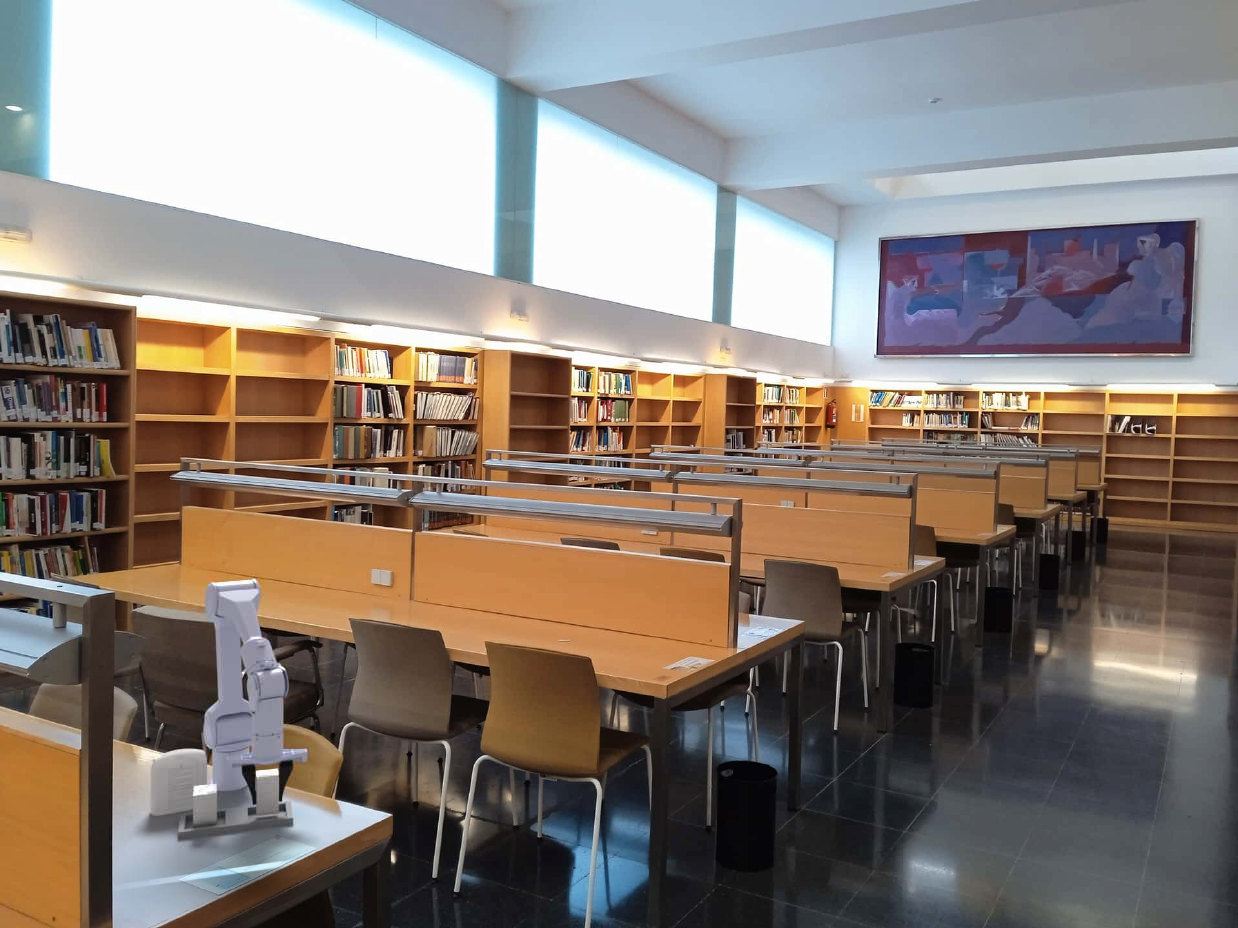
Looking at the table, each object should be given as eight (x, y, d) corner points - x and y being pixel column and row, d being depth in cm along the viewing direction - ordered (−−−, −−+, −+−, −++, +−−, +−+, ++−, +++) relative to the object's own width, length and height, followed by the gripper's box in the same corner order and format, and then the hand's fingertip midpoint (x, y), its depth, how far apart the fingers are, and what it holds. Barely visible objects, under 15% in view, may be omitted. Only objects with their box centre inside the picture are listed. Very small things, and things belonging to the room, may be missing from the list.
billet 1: (194, 822, 185) (194, 785, 184) (216, 819, 186) (216, 783, 186) (193, 832, 180) (193, 795, 180) (216, 829, 182) (216, 792, 181)
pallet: (180, 824, 186) (180, 813, 186) (290, 810, 193) (290, 800, 193) (177, 842, 177) (177, 832, 177) (293, 827, 185) (293, 817, 185)
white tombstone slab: (204, 803, 196) (204, 742, 196) (209, 810, 193) (209, 748, 192) (148, 813, 190) (148, 751, 190) (152, 821, 187) (152, 757, 186)
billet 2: (255, 806, 189) (256, 770, 189) (277, 803, 190) (277, 768, 190) (256, 815, 184) (256, 779, 184) (278, 813, 186) (278, 777, 185)
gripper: (226, 741, 180) (226, 813, 181) (308, 733, 186) (308, 803, 186) (226, 730, 187) (226, 800, 187) (305, 723, 192) (305, 791, 193)
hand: (267, 801), depth 187 cm, fingers closed on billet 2, 4 cm apart
